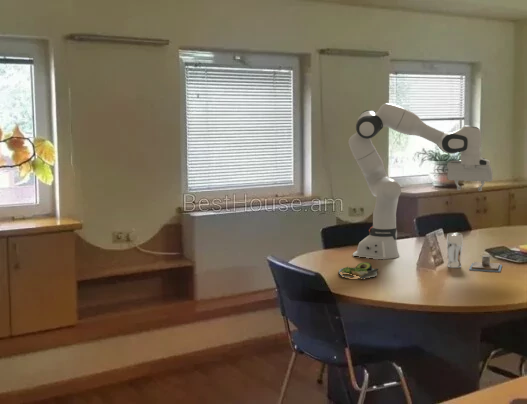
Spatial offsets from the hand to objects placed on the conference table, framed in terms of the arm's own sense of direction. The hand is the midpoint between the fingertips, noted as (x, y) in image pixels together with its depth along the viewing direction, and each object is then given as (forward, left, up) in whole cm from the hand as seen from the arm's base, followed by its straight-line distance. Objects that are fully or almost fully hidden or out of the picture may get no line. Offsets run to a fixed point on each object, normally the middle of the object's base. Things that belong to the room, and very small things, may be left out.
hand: (469, 190), depth 313 cm
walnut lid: (+9, -15, -33) cm, 37 cm away
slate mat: (+9, -15, -33) cm, 37 cm away
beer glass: (-4, -16, -33) cm, 37 cm away
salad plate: (-41, -44, -34) cm, 69 cm away
